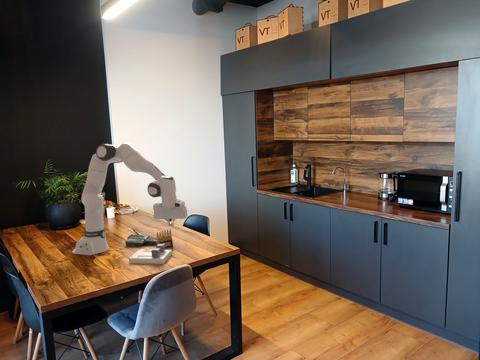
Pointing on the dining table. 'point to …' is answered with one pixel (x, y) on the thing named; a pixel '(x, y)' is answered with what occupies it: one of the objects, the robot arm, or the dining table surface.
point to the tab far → (161, 247)
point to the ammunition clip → (165, 239)
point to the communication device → (140, 240)
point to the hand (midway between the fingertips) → (171, 225)
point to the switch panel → (149, 257)
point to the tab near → (155, 252)
